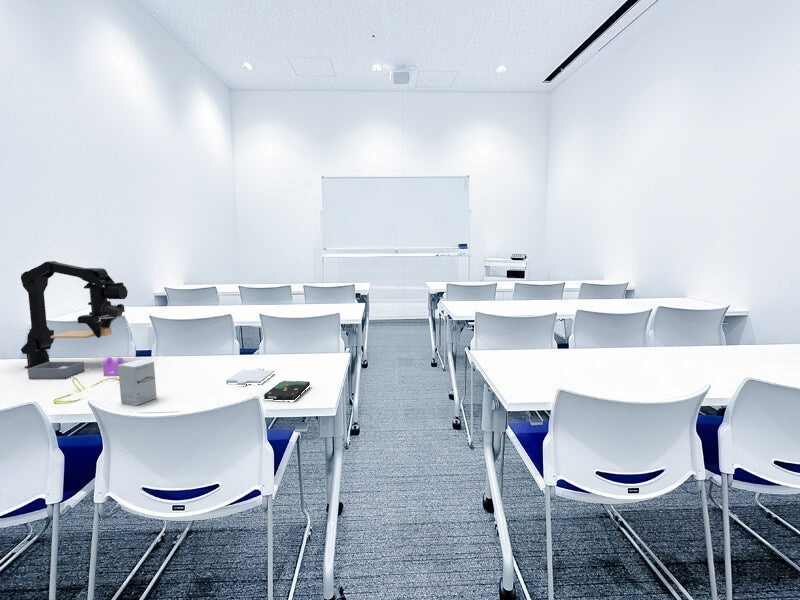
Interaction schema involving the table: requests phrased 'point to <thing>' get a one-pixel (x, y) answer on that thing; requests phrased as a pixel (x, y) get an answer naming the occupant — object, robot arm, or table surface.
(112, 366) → the bracket
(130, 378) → the supplement box
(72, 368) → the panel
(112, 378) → the yellow cable
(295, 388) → the disk drive
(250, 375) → the mounting plate
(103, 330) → the tan board with handle
